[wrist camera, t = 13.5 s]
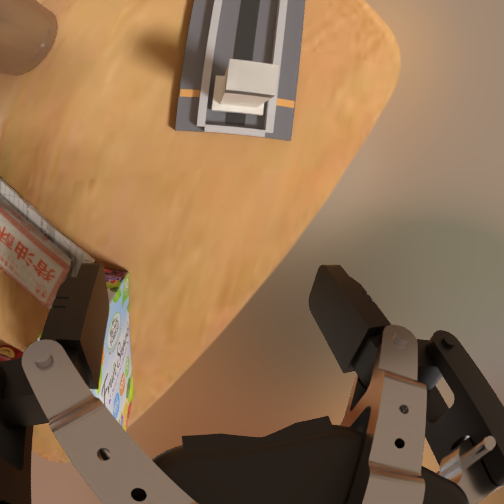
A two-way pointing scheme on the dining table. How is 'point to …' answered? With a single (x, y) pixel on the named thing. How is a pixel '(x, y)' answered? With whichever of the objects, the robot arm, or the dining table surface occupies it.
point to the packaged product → (35, 248)
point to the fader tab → (245, 87)
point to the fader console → (241, 48)
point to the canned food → (9, 353)
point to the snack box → (116, 351)
